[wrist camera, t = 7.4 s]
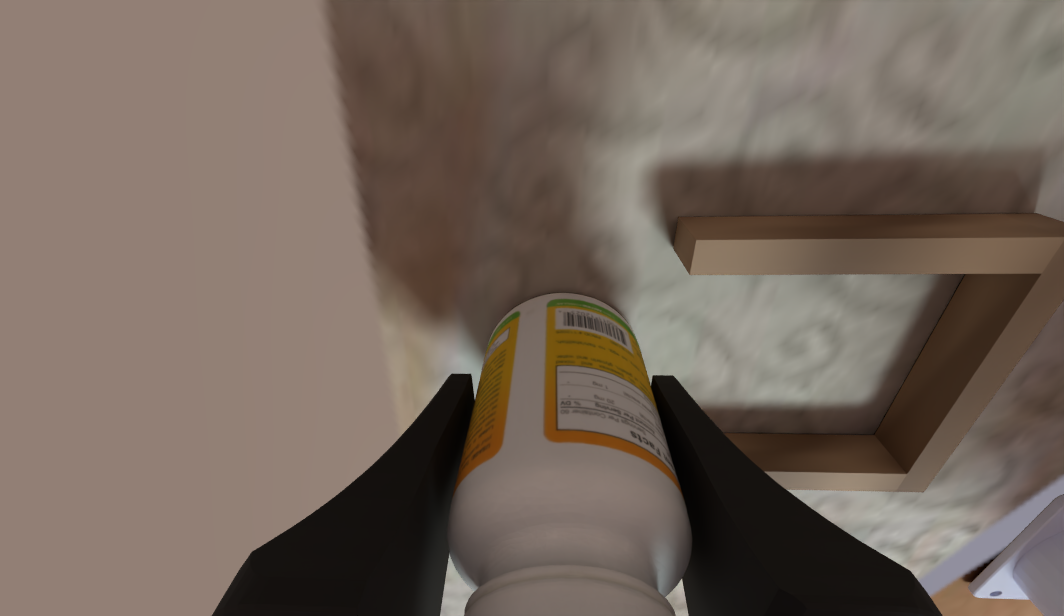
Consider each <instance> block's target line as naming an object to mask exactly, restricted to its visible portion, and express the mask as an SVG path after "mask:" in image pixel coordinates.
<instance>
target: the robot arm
mask: <svg viewBox="0 0 1064 616" xmlns="http://www.w3.org/2000/svg"><path fill="white" fill-rule="evenodd" d="M651 389H652V392H653V395H654V399H655V402H656V406H657V409H658V413H659V416H660V420H661V424H662V427H663V431H664V434H665V437H666V441H667V444H668V448H669V451H670V454H671V458H672V461H673V465H674V468H675V471H676V475H677V477H678V481H679V483H680V487H681V491H682V494H683V497H684V500H685V504H686V507H687V513H688V517H689V521H690V526H691V531H692V550H691V557H690V560H689V564H688V566H687V569H686V571H685V573H684V576H683V577H682V580H683V586H684V592H685V597H686V603H687V608H688V614H689V616H942V614H941V613H940V611H939V610H938V608H937V607H936V605H935V604H934V602H933V601H932V599H931V598H930V596H929V595H928V593H927V592H926V591H925V589H924V588H923V587H922V585H921V584H920V583H919V581H918V580H917V579H916V577H915V576H914V575H913V574H912V572H911V571H910V570H908V569H906V568H905V567H903V566H901V565H899V564H898V563H896V562H894V561H893V560H891V559H889V558H888V557H886V556H884V555H883V554H881V553H879V552H877V551H876V550H874V549H872V548H871V547H869V546H867V545H866V544H864V543H862V542H861V541H859V540H857V539H856V538H854V537H853V536H851V535H850V534H848V533H847V532H845V531H844V530H842V529H841V528H839V527H838V526H836V525H835V524H833V523H832V522H830V521H828V520H827V519H826V518H824V517H823V516H821V515H820V514H818V513H817V512H816V511H814V510H813V509H811V508H810V507H809V506H807V505H806V504H805V503H803V502H802V501H801V500H799V499H798V498H797V497H795V496H794V495H793V494H791V493H790V492H789V491H787V490H786V489H785V488H783V487H782V486H781V485H780V484H778V483H777V482H776V481H775V480H773V479H772V478H771V477H770V476H769V475H768V474H766V473H765V472H764V471H763V470H762V469H761V468H759V467H758V466H757V465H756V464H755V463H754V462H753V461H751V460H750V459H749V458H748V457H747V456H746V455H745V454H744V453H743V452H742V451H741V450H740V449H739V448H738V447H737V446H736V445H735V444H734V443H733V442H732V441H731V440H730V439H729V438H728V437H727V436H726V435H725V434H724V433H723V432H722V431H721V430H720V429H719V428H718V427H717V426H716V425H715V423H714V422H713V421H712V420H711V419H710V418H709V417H708V416H707V415H706V414H705V412H704V411H703V410H702V409H701V408H700V407H699V406H698V404H697V403H696V402H695V401H694V400H693V398H692V397H691V396H690V395H689V394H688V392H687V391H686V390H685V389H684V388H683V386H682V385H681V384H680V383H679V382H678V380H677V379H676V378H675V377H674V376H662V375H653V377H652V383H651ZM474 403H475V399H474V391H473V383H472V376H471V374H451V375H450V376H449V377H448V378H447V380H446V381H445V383H444V384H443V385H442V387H441V388H440V389H439V391H438V392H437V394H436V395H435V396H434V397H433V399H432V400H431V401H430V403H429V404H428V405H427V406H426V408H425V409H424V410H423V411H422V413H421V414H420V415H419V416H418V417H417V419H416V420H415V421H414V422H413V423H412V425H411V426H410V427H409V428H408V429H407V430H406V431H405V432H404V433H403V434H402V436H401V437H400V438H399V439H398V440H397V441H396V442H395V443H394V444H393V445H392V447H390V448H389V449H388V450H387V452H385V453H384V454H383V455H382V456H381V457H380V458H379V459H378V460H377V461H376V462H375V463H374V464H373V465H372V466H371V467H370V468H369V469H368V470H366V471H365V472H364V473H363V474H362V475H361V476H359V477H358V478H357V479H356V480H355V481H354V482H352V483H351V484H350V485H349V486H348V487H346V488H345V489H344V490H343V491H342V492H340V493H339V494H338V495H336V496H335V497H334V498H333V499H331V500H330V501H329V502H327V503H326V504H324V505H323V506H322V507H320V508H319V509H318V510H316V511H315V512H313V513H312V514H311V515H309V516H308V517H306V518H305V519H303V520H302V521H300V522H299V523H297V524H296V525H294V526H293V527H291V528H290V529H288V530H287V531H285V532H283V533H282V534H280V535H279V536H277V537H275V538H274V539H272V540H271V541H269V542H267V543H266V544H264V545H263V546H261V547H259V548H258V549H256V550H254V551H253V552H252V553H251V554H250V556H249V557H248V559H247V560H246V561H245V563H244V564H243V565H242V567H241V568H240V570H239V571H238V573H237V575H236V576H235V578H234V580H233V581H232V583H231V585H230V586H229V588H228V590H227V591H226V593H225V595H224V596H223V598H222V599H221V601H220V603H219V605H218V606H217V608H216V610H215V611H214V613H213V615H212V616H440V611H441V604H442V597H443V591H444V584H445V577H446V571H447V564H448V558H449V548H448V542H447V526H448V519H449V513H450V507H451V502H452V497H453V492H454V488H455V484H456V480H457V476H458V471H459V467H460V463H461V459H462V454H463V450H464V446H465V442H466V437H467V433H468V429H469V424H470V420H471V416H472V411H473V407H474ZM968 589H969V590H970V592H971V593H972V594H973V595H974V596H975V597H978V598H1000V599H1030V600H1031V601H1032V602H1033V604H1034V605H1035V606H1036V607H1037V608H1038V609H1039V610H1040V612H1041V613H1042V614H1043V615H1044V616H1064V494H1063V495H1061V496H1058V497H1057V498H1055V499H1054V500H1053V501H1052V502H1051V503H1050V504H1049V505H1048V506H1047V507H1046V508H1045V509H1044V510H1043V511H1042V512H1041V513H1040V514H1039V515H1038V516H1037V517H1036V518H1035V519H1034V520H1033V521H1032V522H1031V523H1030V524H1029V525H1028V526H1027V527H1026V528H1025V529H1024V530H1023V531H1022V532H1021V533H1020V534H1019V535H1018V536H1017V537H1016V538H1015V539H1014V540H1013V541H1012V542H1011V543H1010V544H1009V545H1008V546H1007V547H1006V548H1005V549H1004V550H1003V551H1002V552H1001V553H1000V554H999V555H998V556H997V557H996V558H995V559H994V560H993V561H992V562H991V563H990V564H989V565H988V566H987V567H986V568H985V569H984V570H983V571H982V572H981V573H980V574H979V575H978V576H977V577H976V578H975V579H974V580H973V581H972V582H971V583H970V584H969V586H968Z"/></svg>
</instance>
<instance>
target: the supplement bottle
mask: <svg viewBox="0 0 1064 616" xmlns="http://www.w3.org/2000/svg"><path fill="white" fill-rule="evenodd" d="M447 542H448V548H449V552H450V556H451V559H452V561H453V564H454V566H455V568H456V570H457V571H458V573H459V575H460V576H461V578H462V579H463V580H464V582H465V583H466V584H467V585H468V586H469V587H470V588H471V589H472V590H473V591H474V593H473V594H472V595H471V597H470V598H469V600H468V602H467V604H466V607H465V615H464V616H675V612H674V609H673V608H672V606H671V604H670V603H669V602H668V600H667V599H666V598H665V597H666V596H667V595H668V594H669V593H670V592H671V591H672V590H673V589H674V588H675V587H676V586H677V585H678V583H679V582H680V580H681V579H682V577H683V576H684V573H685V571H686V569H687V566H688V564H689V560H690V557H691V550H692V531H691V526H690V521H689V517H688V513H687V507H686V504H685V500H684V497H683V494H682V491H681V487H680V483H679V481H678V477H677V475H676V471H675V468H674V465H673V461H672V458H671V454H670V451H669V448H668V444H667V441H666V437H665V434H664V431H663V427H662V424H661V420H660V416H659V413H658V409H657V406H656V402H655V399H654V395H653V392H652V389H651V386H650V382H649V378H648V375H647V371H646V368H645V365H644V361H643V358H642V354H641V351H640V348H639V345H638V342H637V339H636V336H635V334H634V332H633V330H632V328H631V327H630V325H629V324H628V323H627V321H626V320H625V319H624V318H623V317H622V316H621V315H620V314H619V313H618V312H617V311H615V310H614V309H613V308H611V307H610V306H608V305H607V304H605V303H603V302H601V301H599V300H596V299H594V298H591V297H588V296H584V295H579V294H573V293H554V294H547V295H542V296H539V297H535V298H533V299H530V300H528V301H526V302H524V303H522V304H520V305H518V306H517V307H515V308H514V309H512V310H511V311H510V312H509V313H508V314H507V315H505V316H504V317H503V319H502V320H501V321H500V322H499V323H498V325H497V326H496V328H495V329H494V331H493V333H492V335H491V337H490V340H489V343H488V347H487V350H486V354H485V358H484V363H483V367H482V372H481V377H480V381H479V385H478V390H477V394H476V398H475V403H474V407H473V411H472V416H471V420H470V424H469V429H468V433H467V437H466V442H465V446H464V450H463V454H462V459H461V463H460V467H459V471H458V476H457V480H456V484H455V488H454V492H453V497H452V502H451V507H450V513H449V519H448V526H447Z"/></svg>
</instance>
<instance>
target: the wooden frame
mask: <svg viewBox="0 0 1064 616" xmlns="http://www.w3.org/2000/svg"><path fill="white" fill-rule="evenodd" d="M673 249H674V251H675V252H676V254H677V255H678V257H679V259H680V260H681V262H682V263H683V265H684V267H685V268H686V270H687V271H688V273H689V275H802V274H965V276H964V278H963V280H962V281H961V283H960V285H959V287H958V288H957V290H956V292H955V294H954V295H953V297H952V299H951V301H950V302H949V304H948V306H947V308H946V310H945V311H944V313H943V315H942V317H941V318H940V320H939V322H938V324H937V325H936V327H935V329H934V331H933V332H932V334H931V336H930V338H929V340H928V341H927V343H926V345H925V347H924V348H923V350H922V352H921V354H920V355H919V357H918V359H917V361H916V363H915V364H914V366H913V368H912V370H911V371H910V373H909V375H908V377H907V378H906V380H905V382H904V384H903V385H902V387H901V389H900V391H899V393H898V394H897V396H896V398H895V400H894V401H893V403H892V405H891V407H890V408H889V410H888V412H887V414H886V415H885V417H884V419H883V421H882V423H881V424H880V426H879V428H878V430H877V431H876V433H875V435H828V434H756V433H724V434H725V435H726V436H727V437H728V438H729V439H730V440H731V441H732V442H733V443H734V444H735V445H736V446H737V447H738V448H739V449H740V450H741V451H742V452H743V453H744V454H745V455H746V456H747V457H748V458H749V459H750V460H751V461H753V462H754V463H755V464H756V465H757V466H758V467H759V468H761V469H762V470H763V471H764V472H765V473H766V474H768V475H769V476H770V477H771V478H772V479H773V480H775V481H776V482H777V483H778V484H780V485H781V486H782V487H783V488H785V489H787V490H836V491H886V492H924V491H925V490H926V488H927V487H928V486H929V484H930V483H931V482H932V480H933V479H934V477H935V476H936V475H937V473H938V472H939V471H940V469H941V468H942V466H943V465H944V464H945V462H946V461H947V460H948V458H949V457H950V455H951V454H952V453H953V451H954V450H955V449H956V447H957V446H958V444H959V443H960V442H961V440H962V439H963V438H964V436H965V435H966V433H967V432H968V431H969V429H970V428H971V427H972V425H973V424H974V422H975V421H976V420H977V418H978V417H979V415H980V414H981V413H982V411H983V410H984V409H985V407H986V406H987V404H988V403H989V402H990V400H991V399H992V398H993V396H994V395H995V393H996V392H997V391H998V389H999V388H1000V387H1001V385H1002V384H1003V382H1004V381H1005V380H1006V378H1007V377H1008V376H1009V374H1010V373H1011V371H1012V370H1013V369H1014V367H1015V366H1016V365H1017V363H1018V362H1019V360H1020V359H1021V358H1022V356H1023V355H1024V354H1025V352H1026V351H1027V349H1028V348H1029V347H1030V345H1031V344H1032V342H1033V341H1034V340H1035V338H1036V337H1037V336H1038V334H1039V333H1040V331H1041V330H1042V329H1043V327H1044V326H1045V325H1046V323H1047V322H1048V320H1049V319H1050V318H1051V316H1052V315H1053V314H1054V312H1055V311H1056V309H1057V308H1058V307H1059V305H1060V304H1061V303H1062V301H1063V300H1064V222H1062V221H1059V220H1056V219H1053V218H1050V217H1047V216H1044V215H1041V214H1038V213H1019V214H924V215H830V216H735V217H678V222H677V229H676V235H675V241H674V247H673Z"/></svg>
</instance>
